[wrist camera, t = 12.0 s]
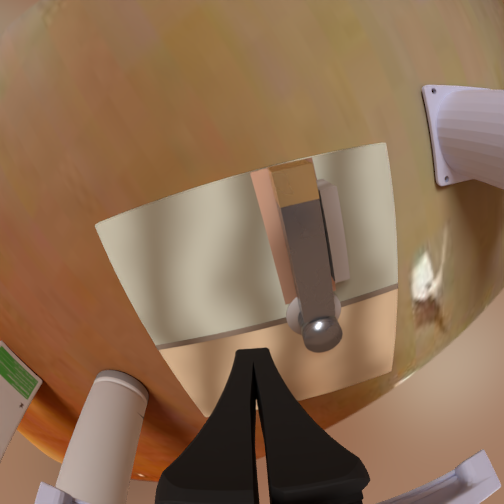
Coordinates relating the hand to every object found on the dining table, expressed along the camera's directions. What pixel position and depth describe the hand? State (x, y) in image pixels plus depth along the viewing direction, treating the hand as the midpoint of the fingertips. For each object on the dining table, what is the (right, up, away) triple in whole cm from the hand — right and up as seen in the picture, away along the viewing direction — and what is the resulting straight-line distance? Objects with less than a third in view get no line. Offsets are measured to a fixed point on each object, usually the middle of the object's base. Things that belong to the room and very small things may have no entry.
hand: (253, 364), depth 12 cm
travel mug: (-14, -10, +14) cm, 22 cm away
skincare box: (-32, -11, +14) cm, 37 cm away
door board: (+2, 0, +11) cm, 11 cm away
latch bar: (+4, +4, +7) cm, 9 cm away
